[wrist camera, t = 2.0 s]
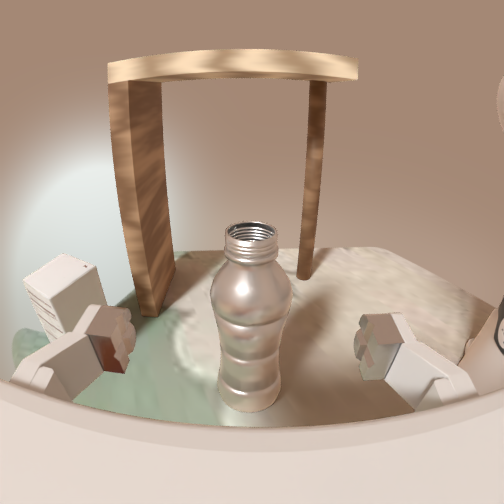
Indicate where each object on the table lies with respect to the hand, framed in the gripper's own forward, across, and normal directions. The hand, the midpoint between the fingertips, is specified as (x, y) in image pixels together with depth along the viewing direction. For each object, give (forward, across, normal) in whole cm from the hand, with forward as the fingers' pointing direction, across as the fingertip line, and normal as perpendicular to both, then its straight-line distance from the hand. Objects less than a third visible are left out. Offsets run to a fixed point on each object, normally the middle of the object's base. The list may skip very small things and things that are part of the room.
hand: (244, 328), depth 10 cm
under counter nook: (+32, +2, +22) cm, 39 cm away
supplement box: (+17, +22, +22) cm, 36 cm away
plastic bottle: (+12, 0, +22) cm, 25 cm away
